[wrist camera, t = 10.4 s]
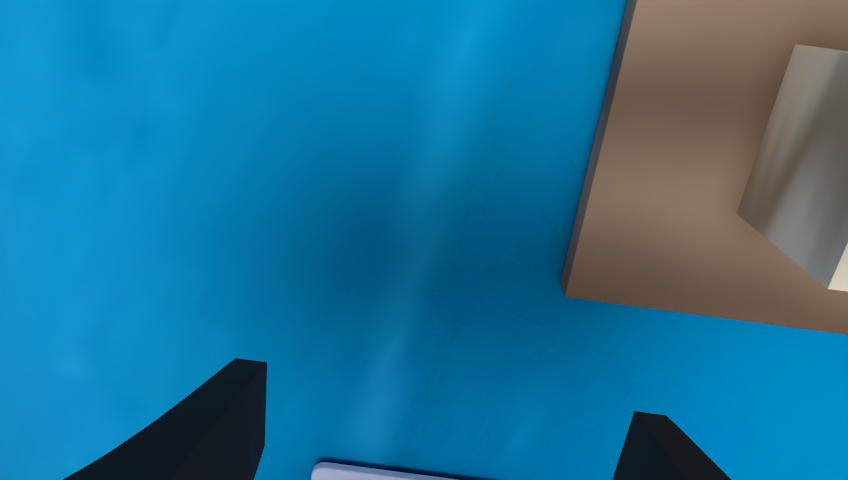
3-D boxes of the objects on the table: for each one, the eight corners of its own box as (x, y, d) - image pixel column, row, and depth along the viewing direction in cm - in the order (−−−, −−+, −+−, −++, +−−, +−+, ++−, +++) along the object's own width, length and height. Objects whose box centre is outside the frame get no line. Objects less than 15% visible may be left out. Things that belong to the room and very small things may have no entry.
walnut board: (963, 337, 21) (986, 353, 20) (560, 283, 21) (565, 297, 20) (1171, -45, 16) (1214, -47, 15) (654, -115, 16) (666, -121, 15)
